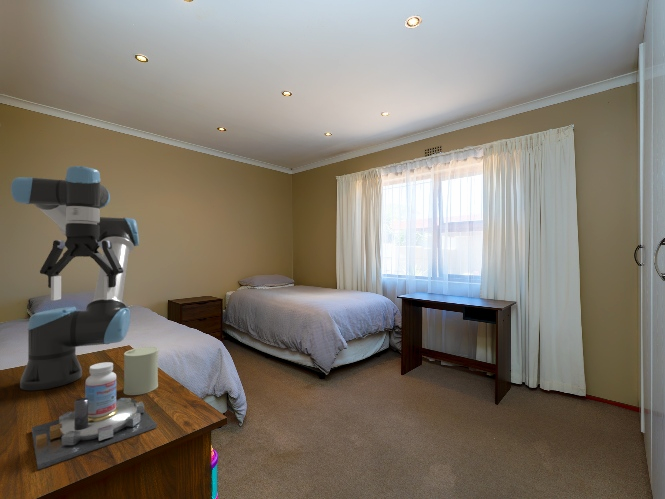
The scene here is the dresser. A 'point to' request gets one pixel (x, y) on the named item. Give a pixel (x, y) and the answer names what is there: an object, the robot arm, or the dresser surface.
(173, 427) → the dresser surface
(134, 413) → the sprocket
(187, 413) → the dresser surface
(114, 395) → the pill bottle
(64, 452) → the base plate
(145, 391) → the pale green cylinder
